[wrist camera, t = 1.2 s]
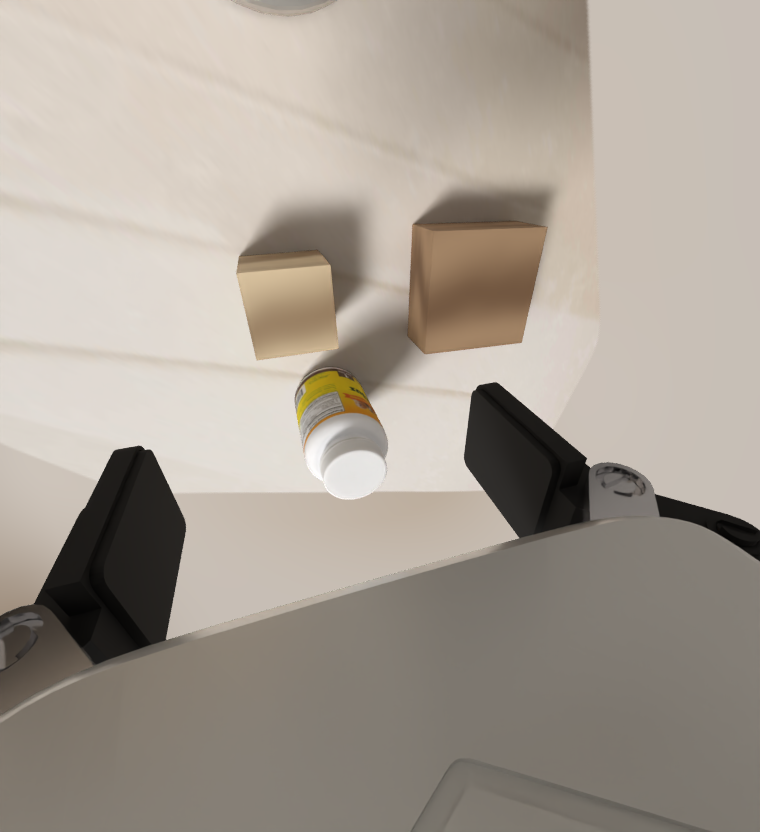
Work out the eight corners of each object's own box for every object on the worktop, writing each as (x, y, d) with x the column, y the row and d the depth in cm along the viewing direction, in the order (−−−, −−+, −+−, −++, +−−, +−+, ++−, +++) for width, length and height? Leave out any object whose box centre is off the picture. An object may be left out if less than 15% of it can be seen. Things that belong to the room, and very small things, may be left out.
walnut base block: (411, 223, 26) (433, 231, 22) (512, 220, 27) (547, 227, 24) (406, 334, 30) (424, 354, 27) (494, 325, 32) (521, 342, 29)
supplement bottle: (370, 405, 32) (410, 485, 24) (312, 433, 32) (332, 522, 24) (345, 352, 29) (383, 423, 21) (280, 382, 29) (292, 466, 21)
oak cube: (238, 256, 23) (236, 273, 19) (317, 249, 25) (330, 264, 21) (256, 331, 26) (256, 360, 22) (325, 322, 27) (338, 348, 23)
